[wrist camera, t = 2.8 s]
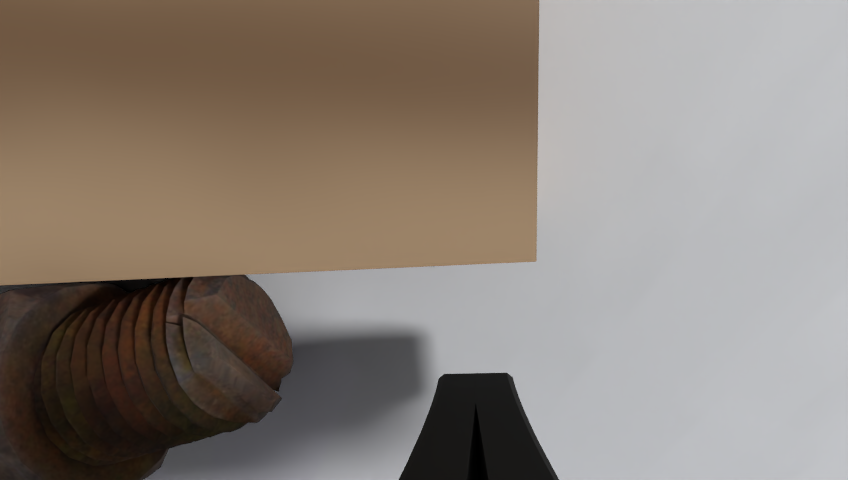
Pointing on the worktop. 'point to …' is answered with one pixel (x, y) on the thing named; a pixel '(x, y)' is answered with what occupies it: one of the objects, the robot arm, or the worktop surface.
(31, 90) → the walnut board
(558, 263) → the worktop surface
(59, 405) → the bolt
